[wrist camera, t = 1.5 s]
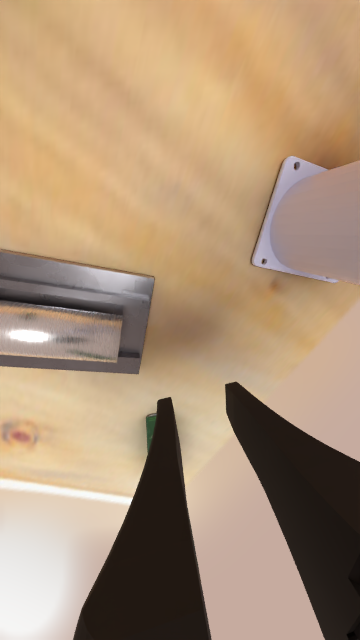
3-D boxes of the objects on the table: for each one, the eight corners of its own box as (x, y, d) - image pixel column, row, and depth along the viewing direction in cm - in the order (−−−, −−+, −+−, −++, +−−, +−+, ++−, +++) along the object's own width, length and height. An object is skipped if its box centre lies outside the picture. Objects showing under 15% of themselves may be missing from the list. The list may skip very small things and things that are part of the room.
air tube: (124, 308, 17) (121, 327, 13) (119, 347, 18) (115, 373, 15) (-85, 280, 13) (-157, 295, 10) (-73, 331, 15) (-134, 359, 11)
